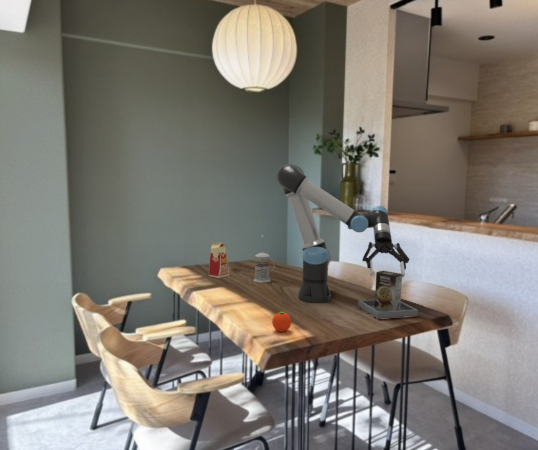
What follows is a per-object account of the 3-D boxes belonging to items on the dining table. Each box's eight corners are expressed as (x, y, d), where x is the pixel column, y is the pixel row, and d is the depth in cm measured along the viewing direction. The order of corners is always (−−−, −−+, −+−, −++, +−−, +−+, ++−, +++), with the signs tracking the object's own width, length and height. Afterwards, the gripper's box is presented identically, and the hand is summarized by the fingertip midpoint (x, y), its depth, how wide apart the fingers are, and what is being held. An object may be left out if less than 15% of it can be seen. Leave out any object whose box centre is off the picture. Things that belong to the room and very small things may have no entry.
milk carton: (229, 275, 249) (229, 240, 247) (219, 278, 241) (219, 242, 239) (217, 273, 254) (217, 239, 251) (206, 276, 246) (206, 241, 244)
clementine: (271, 327, 162) (271, 308, 161) (289, 327, 162) (290, 308, 162) (272, 334, 154) (273, 315, 153) (292, 334, 154) (292, 315, 154)
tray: (377, 320, 172) (378, 312, 172) (357, 307, 189) (358, 300, 189) (417, 317, 176) (418, 310, 176) (394, 304, 194) (395, 298, 193)
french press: (253, 278, 242) (254, 233, 240) (274, 278, 242) (275, 234, 239) (252, 282, 233) (253, 236, 230) (274, 282, 232) (274, 236, 230)
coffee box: (373, 309, 184) (375, 272, 182) (381, 306, 188) (382, 269, 187) (393, 314, 177) (395, 275, 176) (400, 310, 182) (402, 273, 181)
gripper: (407, 241, 203) (414, 280, 190) (354, 239, 204) (357, 278, 191) (411, 231, 197) (419, 271, 184) (356, 229, 198) (360, 269, 185)
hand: (387, 275), depth 187 cm, fingers open, 13 cm apart
